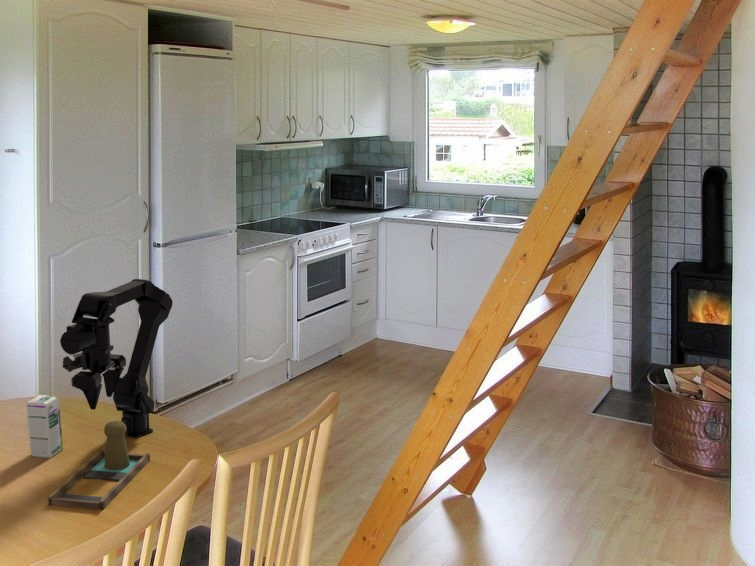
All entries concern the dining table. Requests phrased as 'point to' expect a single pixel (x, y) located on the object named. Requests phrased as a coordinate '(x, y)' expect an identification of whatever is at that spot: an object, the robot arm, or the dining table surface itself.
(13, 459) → the dining table surface
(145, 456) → the channel
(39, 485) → the dining table surface
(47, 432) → the syrup box
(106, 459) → the cork
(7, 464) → the dining table surface
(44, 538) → the dining table surface
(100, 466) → the pad
